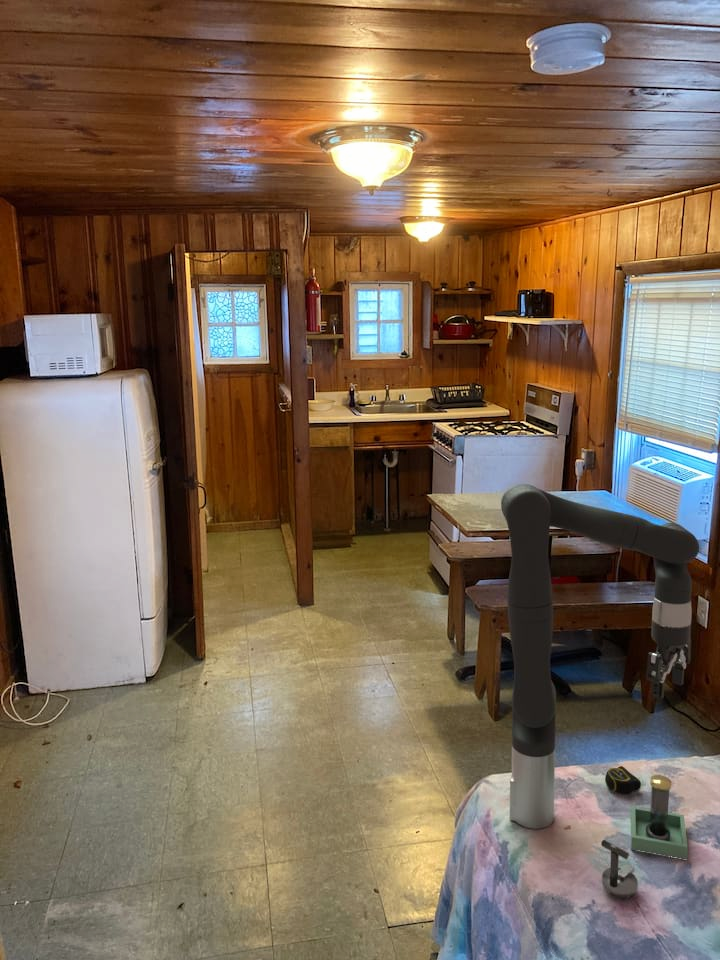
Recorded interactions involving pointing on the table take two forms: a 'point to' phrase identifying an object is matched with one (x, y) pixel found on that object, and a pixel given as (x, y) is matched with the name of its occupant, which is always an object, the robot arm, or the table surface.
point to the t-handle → (618, 874)
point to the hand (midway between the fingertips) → (667, 690)
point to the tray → (667, 848)
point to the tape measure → (621, 781)
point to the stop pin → (659, 808)
